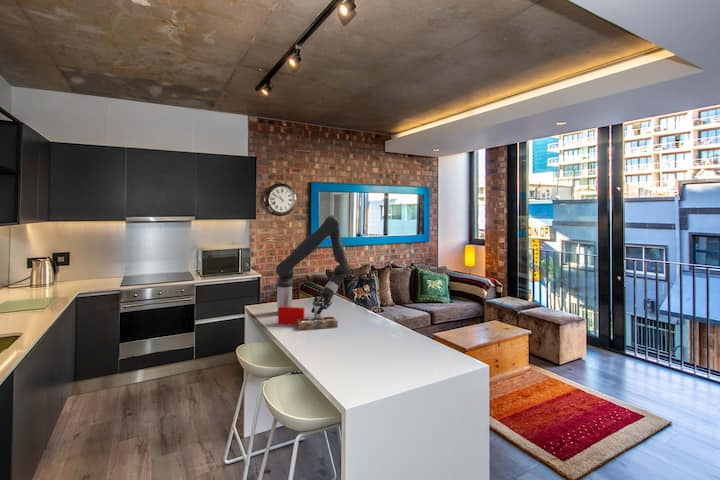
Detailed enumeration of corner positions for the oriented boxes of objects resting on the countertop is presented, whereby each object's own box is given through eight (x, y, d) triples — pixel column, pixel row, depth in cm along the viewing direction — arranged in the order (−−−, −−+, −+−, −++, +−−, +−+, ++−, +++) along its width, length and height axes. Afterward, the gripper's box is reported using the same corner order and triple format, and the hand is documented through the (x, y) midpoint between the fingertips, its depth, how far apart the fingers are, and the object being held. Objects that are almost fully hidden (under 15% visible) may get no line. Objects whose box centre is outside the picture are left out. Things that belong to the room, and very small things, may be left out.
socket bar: (299, 330, 207) (299, 322, 207) (296, 324, 216) (296, 317, 216) (337, 327, 214) (337, 320, 214) (333, 322, 223) (333, 315, 223)
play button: (304, 324, 219) (304, 307, 218) (302, 326, 216) (303, 308, 215) (279, 323, 221) (279, 306, 220) (278, 324, 218) (278, 307, 217)
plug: (312, 319, 229) (313, 301, 229) (320, 318, 231) (320, 300, 230) (314, 321, 225) (314, 302, 224) (321, 320, 227) (322, 302, 226)
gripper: (318, 285, 237) (303, 307, 229) (334, 288, 228) (319, 311, 219) (324, 292, 241) (310, 314, 233) (340, 295, 232) (326, 318, 224)
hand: (315, 312), depth 226 cm, fingers open, 4 cm apart
